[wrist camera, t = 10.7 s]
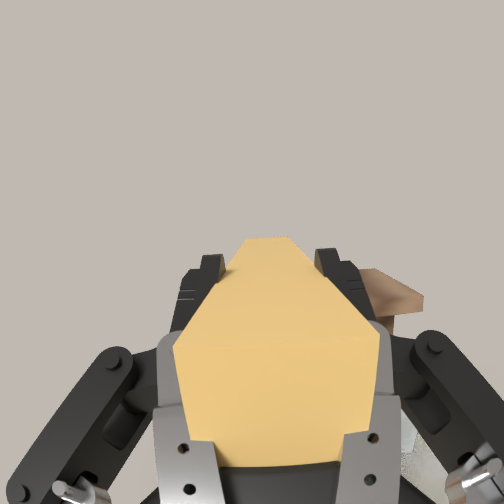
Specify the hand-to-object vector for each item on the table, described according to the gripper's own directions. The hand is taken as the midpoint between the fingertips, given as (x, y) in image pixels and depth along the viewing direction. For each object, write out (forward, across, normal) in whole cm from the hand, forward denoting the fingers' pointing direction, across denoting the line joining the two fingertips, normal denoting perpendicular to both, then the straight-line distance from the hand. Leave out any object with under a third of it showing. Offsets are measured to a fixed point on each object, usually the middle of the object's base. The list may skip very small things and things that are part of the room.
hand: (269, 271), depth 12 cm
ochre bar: (+2, 0, +5) cm, 5 cm away
